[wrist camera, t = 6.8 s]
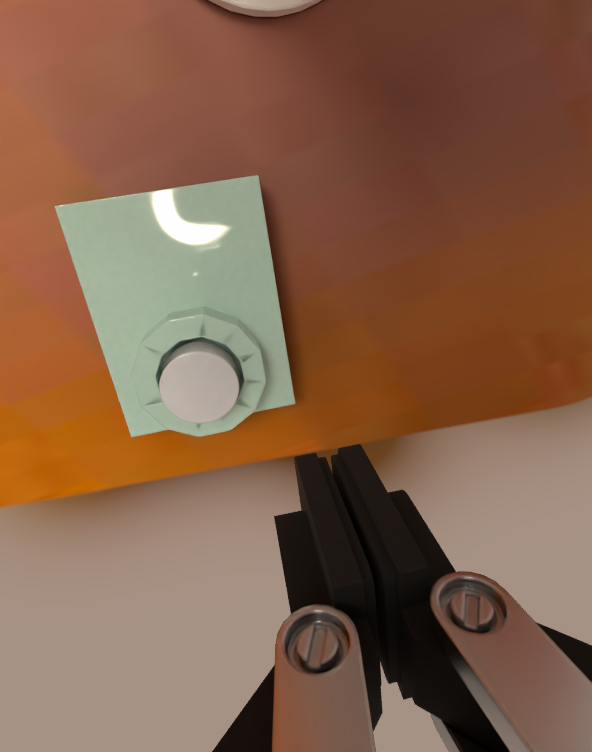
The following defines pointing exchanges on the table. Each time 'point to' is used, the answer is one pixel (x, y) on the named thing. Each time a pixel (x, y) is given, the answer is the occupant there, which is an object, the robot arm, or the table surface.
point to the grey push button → (199, 382)
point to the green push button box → (181, 293)
